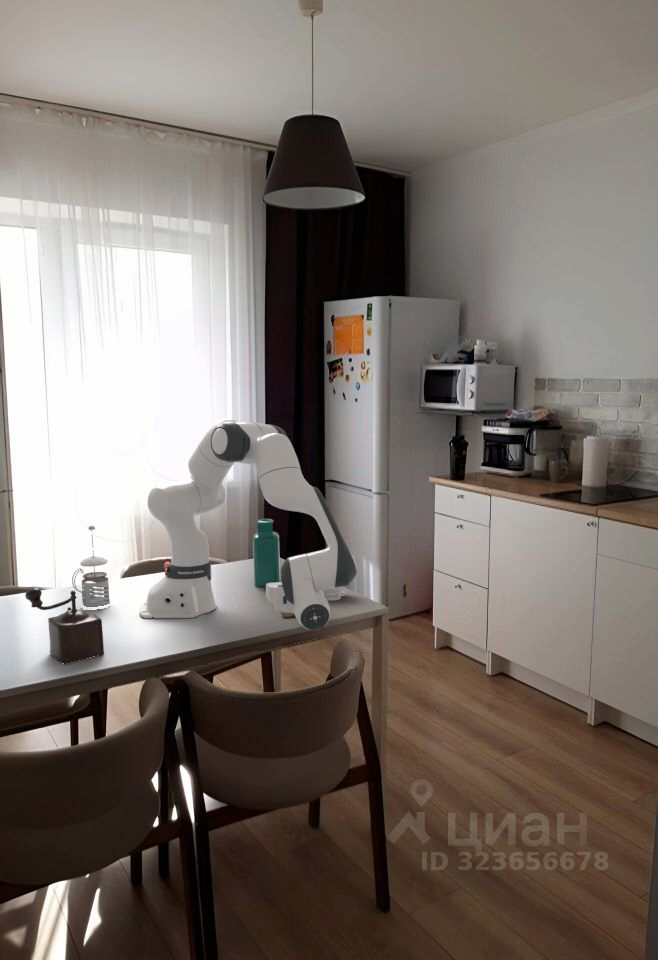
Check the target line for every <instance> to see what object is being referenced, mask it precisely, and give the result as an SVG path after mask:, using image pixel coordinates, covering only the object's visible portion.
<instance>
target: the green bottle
mask: <svg viewBox="0 0 658 960" xmlns="http://www.w3.org/2000/svg"><path fill="white" fill-rule="evenodd" d="M273 523H274V520H273V519H272V518H261V519H258V520H257V532H256V533H254V534H253V539H252V552H253V556H252V557H253V579H254V580H253V581H254V582H253V583H254V586H256V587H257V588H266V584H267V583H276V582H281V568H280V567H281V566H280V565H281V563H280V561H281V560H280V558H281V557H280V535H279V533H278V532H276V531H274V529H273V525H274V524H273Z"/></svg>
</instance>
